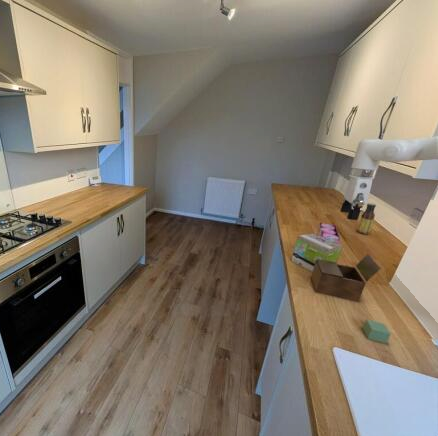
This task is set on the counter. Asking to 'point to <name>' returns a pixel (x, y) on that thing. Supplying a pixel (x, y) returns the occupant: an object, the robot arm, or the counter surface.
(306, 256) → the tea box
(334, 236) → the gum box
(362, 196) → the robot arm
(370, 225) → the sauce bottle
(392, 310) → the counter surface
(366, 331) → the block
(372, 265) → the flap
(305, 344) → the counter surface
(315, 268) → the carton
